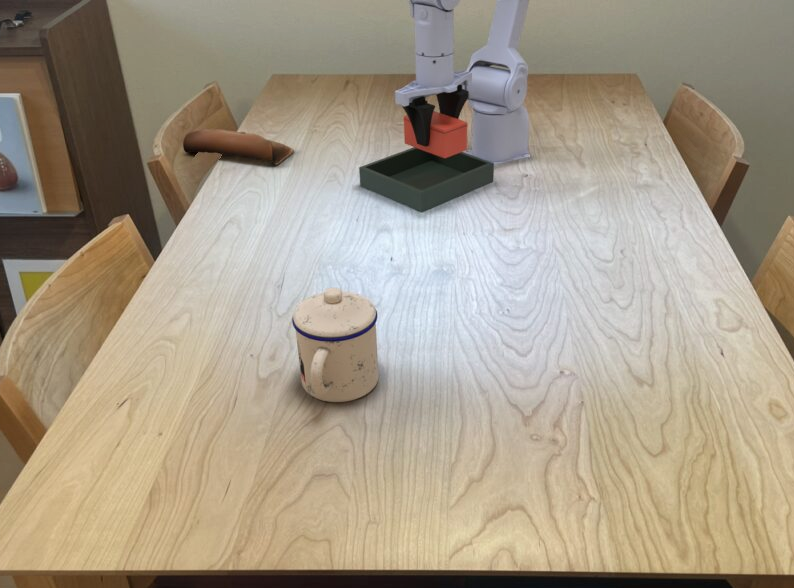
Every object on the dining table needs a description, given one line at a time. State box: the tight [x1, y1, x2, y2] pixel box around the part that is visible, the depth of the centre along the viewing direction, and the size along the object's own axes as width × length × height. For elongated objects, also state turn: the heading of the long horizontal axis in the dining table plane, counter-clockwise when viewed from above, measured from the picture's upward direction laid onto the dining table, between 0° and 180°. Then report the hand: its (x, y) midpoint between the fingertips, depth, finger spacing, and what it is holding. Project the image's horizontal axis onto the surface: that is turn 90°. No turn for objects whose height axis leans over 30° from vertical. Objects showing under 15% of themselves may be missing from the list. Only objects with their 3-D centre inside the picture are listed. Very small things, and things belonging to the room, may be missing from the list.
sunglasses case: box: [182, 128, 294, 166], centre depth 155 cm, size 18×7×7 cm
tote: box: [358, 146, 495, 213], centre depth 143 cm, size 16×14×4 cm
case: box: [403, 110, 468, 158], centre depth 137 cm, size 5×9×4 cm, turn 46°
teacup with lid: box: [291, 287, 380, 403], centre depth 95 cm, size 12×9×12 cm
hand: (435, 140), depth 138 cm, fingers closed on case, 5 cm apart
